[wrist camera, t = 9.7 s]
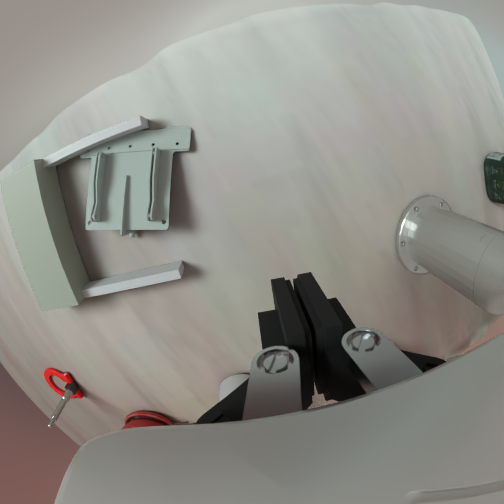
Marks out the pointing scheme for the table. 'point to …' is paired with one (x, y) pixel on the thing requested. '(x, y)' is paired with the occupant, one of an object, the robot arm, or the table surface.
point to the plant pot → (145, 420)
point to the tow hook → (70, 391)
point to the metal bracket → (133, 180)
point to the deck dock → (64, 230)
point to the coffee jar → (495, 176)
